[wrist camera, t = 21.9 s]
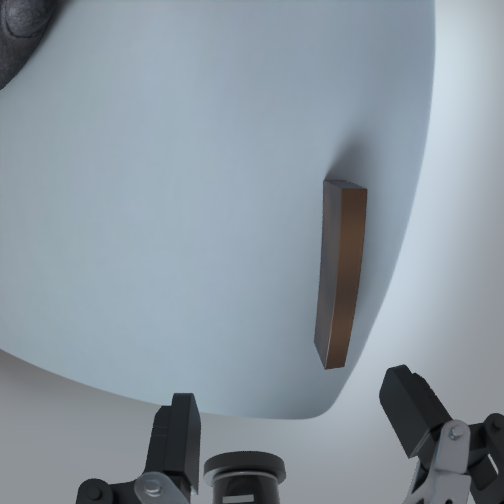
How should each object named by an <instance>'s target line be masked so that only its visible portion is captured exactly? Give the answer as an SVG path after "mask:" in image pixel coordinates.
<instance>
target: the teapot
mask: <svg viewBox="0 0 504 504" xmlns="http://www.w3.org/2000/svg"><path fill="white" fill-rule="evenodd" d="M57 2H58V0H0V90H1V89H2V88H4V87H5V86H6V85H7V84H8V83H9V82H10V81H11V80H12V79H13V78H14V77H15V75H16V74H17V73H18V72H19V71H20V69H21V68H22V67H23V65H24V64H25V63H26V61H27V60H28V58H29V56H30V55H31V53H32V52H33V50H34V48H35V47H36V45H37V44H38V42H39V40H40V38H41V36H42V34H43V32H44V30H45V27H46V25H47V23H48V21H49V19H50V17H51V14H52V13H53V11H54V10H55V7H56V5H57Z"/></svg>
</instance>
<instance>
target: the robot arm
mask: <svg viewBox="0 0 504 504" xmlns="http://www.w3.org/2000/svg"><path fill="white" fill-rule="evenodd" d="M379 398H380V403H381V405H382V407H383V409H384V411H385V413H386V415H387V417H388V419H389V421H390V422H391V425H392V427H393V428H394V430H395V432H396V434H397V436H398V438H399V440H400V442H401V444H402V446H403V448H404V450H405V453H406V455H407V456H408V458H409V459H410V458H412V457H415V456H418V457H419V461H418V462H417V466H416V469H415V472H414V476H413V479H412V482H411V485H410V489H409V492H408V494H407V497H406V499H405V500H404V502H403V503H402V504H467V500H468V495H469V490H470V492H471V494H472V496H473V498H474V501H475V503H476V504H504V416H503V415H501V414H499V413H493V414H490V415H489V416H488V417H487V418H486V420H485V421H484V422H483V423H478V424H473V425H467V424H466V423H464V422H463V421H460V420H453V419H452V418H451V417H450V415H449V413H448V412H447V410H446V409H445V408H444V406H443V405H442V403H441V402H440V400H439V399H438V397H437V396H436V395H435V393H434V392H433V390H432V389H430V386H429V385H428V383H427V382H426V380H425V379H424V378H422V377H420V376H419V375H418V374H417V373H413V374H412V373H411V371H410V370H409V368H408V367H407V366H406V365H399V366H396V367H392V368H389V369H388V370H387V371H386V374H385V377H384V380H383V384H382V386H381V389H380V393H379ZM200 435H201V422H200V415H199V411H198V408H197V404H196V401H195V397H194V394H193V393H174V395H173V399H172V405H171V406H161V408H160V409H159V411H158V412H157V413H156V415H155V419H154V423H153V428H152V433H151V438H150V444H149V449H148V455H147V460H146V466H145V470H144V472H143V473H142V475H141V476H139V477H138V478H137V479H135V480H134V481H131V482H126V483H118V484H110V485H108V484H107V483H106V482H105V481H103V480H100V479H88V480H86V481H84V482H83V483H82V484H81V485H80V487H79V489H78V495H77V500H76V504H191V503H190V496H191V495H198V483H199V456H200ZM489 453H490V455H491V457H492V459H493V461H494V462H495V464H496V466H497V468H498V475H497V473H496V471H495V469H494V467H493V465H492V463H491V461H490V459H489V457H488V454H489ZM212 486H213V504H280V498H279V491H278V479H277V476H276V474H274V473H272V472H270V471H266V470H261V469H234V470H228V471H224V472H221V473H218V474H216V475H215V476H214V477H213V479H212Z"/></svg>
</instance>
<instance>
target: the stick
mask: <svg viewBox="0 0 504 504" xmlns="http://www.w3.org/2000/svg"><path fill="white" fill-rule="evenodd" d="M366 203H367V189H366V188H363V187H361V186H358V185H355V184H353V183H350V182H347V181H323V224H322V248H321V266H320V281H319V294H318V307H317V318H316V328H315V338H314V343H315V346H316V348H317V351H318V354H319V356H320V359H321V362H322V364H323V367H324V369H325V370H327V369H334V368H340V367H344V366H345V361H346V356H347V351H348V346H349V341H350V336H351V330H352V325H353V319H354V313H355V307H356V300H357V293H358V286H359V279H360V271H361V262H362V253H363V243H364V232H365V219H366Z"/></svg>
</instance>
